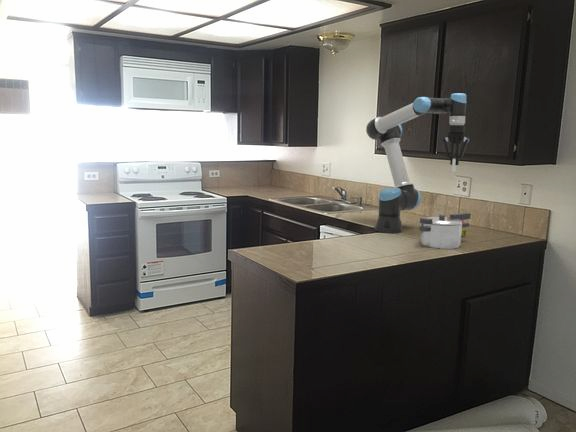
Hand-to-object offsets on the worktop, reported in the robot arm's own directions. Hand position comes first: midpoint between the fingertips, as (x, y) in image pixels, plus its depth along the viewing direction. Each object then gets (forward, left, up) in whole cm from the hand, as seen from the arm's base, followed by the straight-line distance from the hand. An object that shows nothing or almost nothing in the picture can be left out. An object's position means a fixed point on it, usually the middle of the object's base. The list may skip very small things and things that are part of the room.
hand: (453, 171), depth 255 cm
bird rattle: (-1, +6, -35) cm, 35 cm away
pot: (+11, -14, -34) cm, 39 cm away
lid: (+11, -14, -23) cm, 29 cm away
